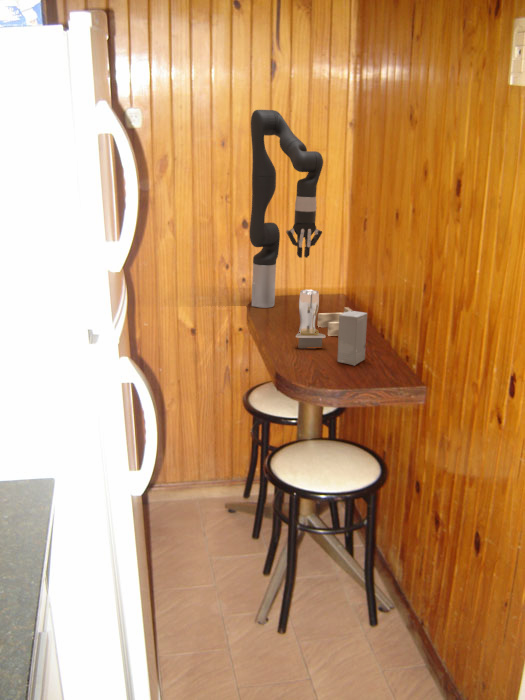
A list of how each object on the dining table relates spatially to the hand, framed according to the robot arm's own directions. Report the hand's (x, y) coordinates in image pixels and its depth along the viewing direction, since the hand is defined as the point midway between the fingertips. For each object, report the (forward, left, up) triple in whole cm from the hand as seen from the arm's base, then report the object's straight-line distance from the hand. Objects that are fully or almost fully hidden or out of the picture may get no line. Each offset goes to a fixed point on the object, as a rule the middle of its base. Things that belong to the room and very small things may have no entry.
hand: (302, 257), depth 266 cm
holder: (+13, -9, -25) cm, 29 cm away
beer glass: (+2, -11, -25) cm, 28 cm away
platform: (+2, -29, -26) cm, 39 cm away
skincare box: (+15, -41, -25) cm, 50 cm away
